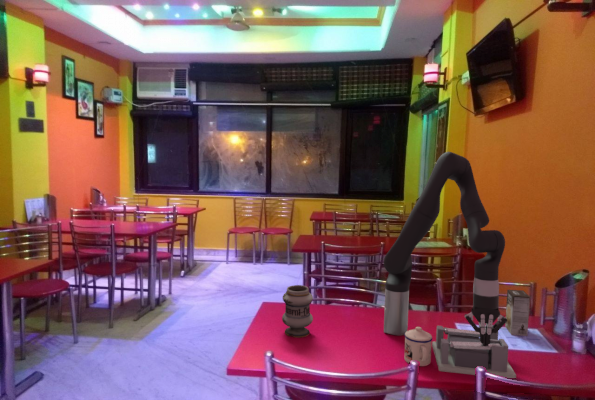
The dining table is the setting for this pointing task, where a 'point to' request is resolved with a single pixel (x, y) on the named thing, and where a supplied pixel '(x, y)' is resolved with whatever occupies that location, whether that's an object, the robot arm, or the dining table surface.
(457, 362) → the base
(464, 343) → the strap
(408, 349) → the teacup with lid
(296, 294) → the apothecary jar
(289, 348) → the dining table surface
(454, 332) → the grey hinged latch bar
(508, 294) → the coffee box
